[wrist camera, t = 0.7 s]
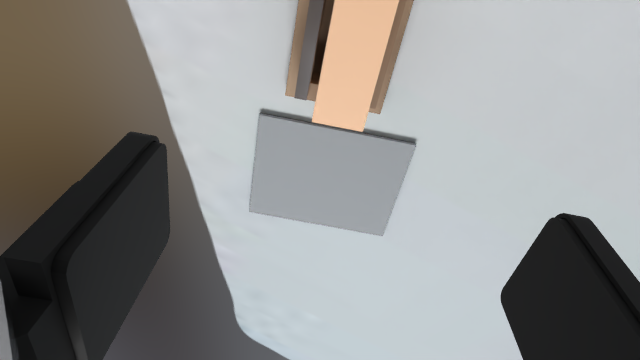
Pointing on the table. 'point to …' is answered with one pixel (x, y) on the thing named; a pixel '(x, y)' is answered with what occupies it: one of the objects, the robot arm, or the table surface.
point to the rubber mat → (327, 174)
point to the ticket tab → (352, 61)
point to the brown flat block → (311, 50)
